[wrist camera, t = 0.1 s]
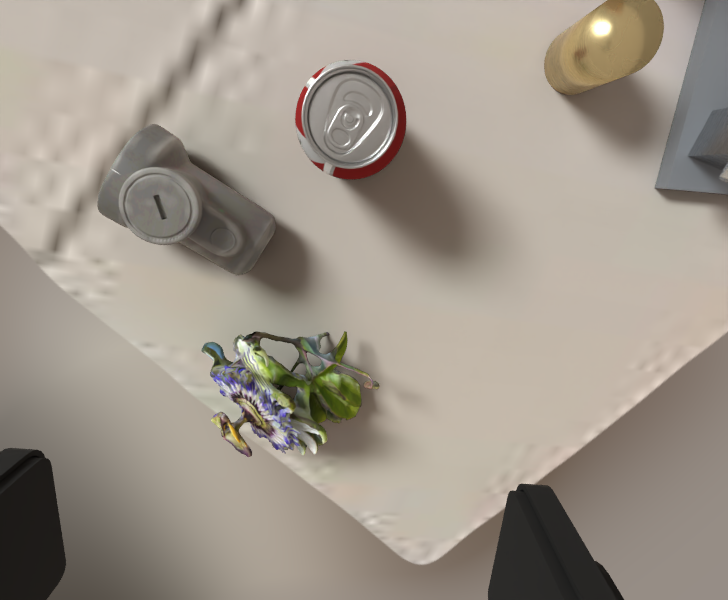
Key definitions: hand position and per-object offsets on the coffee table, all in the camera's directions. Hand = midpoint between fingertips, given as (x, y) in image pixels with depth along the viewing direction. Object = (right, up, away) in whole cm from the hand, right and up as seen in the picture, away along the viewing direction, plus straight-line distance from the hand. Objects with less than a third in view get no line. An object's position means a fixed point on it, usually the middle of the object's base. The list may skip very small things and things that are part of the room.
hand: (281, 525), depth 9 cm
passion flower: (-5, -1, +33) cm, 34 cm away
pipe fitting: (-12, +13, +29) cm, 34 cm away
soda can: (+1, +18, +27) cm, 33 cm away
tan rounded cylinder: (+18, +24, +25) cm, 39 cm away
